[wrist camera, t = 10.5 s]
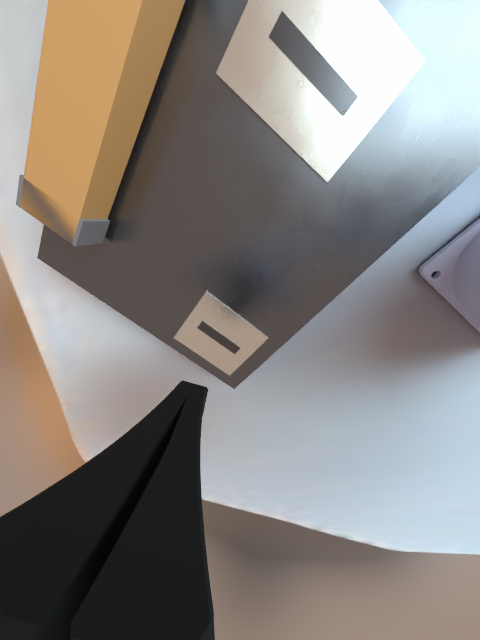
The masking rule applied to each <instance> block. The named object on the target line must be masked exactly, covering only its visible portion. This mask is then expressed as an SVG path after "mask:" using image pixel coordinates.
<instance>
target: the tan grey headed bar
mask: <svg viewBox="0 0 480 640" xmlns="http://www.w3.org/2000/svg"><path fill="white" fill-rule="evenodd" d="M184 3H185V0H48V8H47V15H46V22H45V29H44V36H43V43H42V51H41V58H40V65H39V72H38V79H37V87H36V94H35V101H34V108H33V115H32V123H31V130H30V137H29V144H28V151H27V159H26V166H25V173H24V175H20V178H19V186H18V193H17V201H16V205H18V206H19V207H20V208H22V209H23V210H25V211H26V212H27V213H29V214H30V215H32V216H33V217H34V218H36V219H37V220H39V221H40V222H42V223H43V224H44V225H46V226H47V227H49V228H50V229H51V230H53V231H54V232H56V233H57V234H58V235H60V236H61V237H63V238H64V239H65V240H67V241H68V242H70V243H71V244H73V245H74V246H75V247H77V246H84V245H92V244H99V243H103V240H104V237H105V235H106V232H107V229H108V226H109V224H110V221H109V220H108V216H109V213H110V210H111V208H112V205H113V202H114V199H115V196H116V194H117V191H118V188H119V185H120V182H121V180H122V177H123V174H124V171H125V168H126V166H127V163H128V160H129V157H130V154H131V152H132V149H133V146H134V143H135V140H136V137H137V135H138V132H139V129H140V126H141V123H142V121H143V118H144V115H145V112H146V109H147V107H148V104H149V101H150V98H151V95H152V93H153V90H154V87H155V84H156V81H157V78H158V76H159V73H160V70H161V67H162V64H163V62H164V59H165V56H166V53H167V50H168V48H169V45H170V42H171V39H172V36H173V34H174V31H175V28H176V25H177V22H178V20H179V17H180V14H181V11H182V8H183V5H184Z"/></svg>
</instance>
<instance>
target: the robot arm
mask: <svg viewBox="0 0 480 640" xmlns="http://www.w3.org/2000/svg"><path fill="white" fill-rule="evenodd" d="M435 271H436V274H435V275H434V276H433V277H431V275H432V273H433V272H435ZM419 274H420V275H421V276H422V277H423V278H424V279H425V280H426V281H427V282H428V283H429V284H430V285H431V286H432V287H433V288H434V289H435V290H436V291H437V292H438V293H439V294H440V295H441V296H442V297H443V298H444V299H445V300H446V301H447V302H449V303H450V304H451V305H452V306H453V307H454V308H455V309H456V310H457V311H458V312H459V313H460V314H461V315H462V316H463V317H464V318H465V319H466V320H467V321H468V322H469V323H470V324H471V325H472V326H473V327H474V328H475V329H476V330H477V331H478V332H479V333H480V218H479V219H478V220H477V221H475V222H474V223H473V224H472V225H471V226H469V227H468V228H467V229H466V230H464V231H463V232H462V233H461V234H459V235H458V236H457V237H456V238H454V239H453V240H452V241H451V242H449V243H448V244H447V245H446V246H444V247H443V248H442V249H441V250H439V251H438V252H437V253H436V254H435V255H433V256H432V257H431V258H430V259H428V260H427V261H426V262H425V263H423V264H422V265H421V266H420V268H419ZM207 392H208V389H207V387H204V386H200V385H197V384H193V383H189V382H186V381H181V382H180V383H179V384H178V385H177V386H176V387H175V389H174V390H173V391H172V392H171V393H170V394H169V395H168V396H167V397H166V398H165V399H164V400H163V401H162V402H161V403H160V404H159V405H158V406H157V407H155V408H154V409H153V410H152V411H151V412H150V413H149V414H148V415H147V416H146V417H145V418H143V419H142V420H141V421H140V422H139V423H138V424H136V425H135V426H134V427H133V428H132V429H130V430H129V431H128V432H127V433H126V434H124V435H123V436H122V437H121V438H119V439H118V440H117V441H115V442H114V443H113V444H112V445H110V446H109V447H108V448H106V449H105V450H104V451H102V452H101V453H99V454H98V455H97V456H95V457H94V458H92V459H91V460H90V461H88V462H87V463H85V464H84V465H82V466H81V467H80V468H78V469H77V470H75V471H74V472H72V473H71V474H69V475H68V476H66V477H65V478H63V479H61V480H60V481H58V482H57V483H55V484H54V485H52V486H50V487H49V488H47V489H46V490H44V491H43V492H41V493H39V494H38V495H36V496H35V497H33V498H32V499H30V500H28V501H27V502H25V503H24V504H22V505H20V506H19V507H17V508H15V509H13V510H11V511H10V512H8V513H6V514H5V515H3V516H1V517H0V640H215V636H214V613H213V604H212V597H211V590H210V581H209V573H208V566H207V555H206V546H205V537H204V524H203V512H202V499H201V477H200V438H201V423H202V415H203V412H204V407H205V402H206V397H207Z"/></svg>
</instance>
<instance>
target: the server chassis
mask: <svg viewBox="0 0 480 640" xmlns="http://www.w3.org/2000/svg"><path fill="white" fill-rule="evenodd" d="M479 167H480V0H185V3H184V5H183V8H182V11H181V14H180V17H179V20H178V22H177V25H176V28H175V31H174V34H173V36H172V39H171V42H170V45H169V48H168V50H167V53H166V56H165V59H164V62H163V64H162V67H161V70H160V73H159V76H158V78H157V81H156V84H155V87H154V90H153V93H152V95H151V98H150V101H149V104H148V107H147V109H146V112H145V115H144V118H143V121H142V123H141V126H140V129H139V132H138V135H137V137H136V140H135V143H134V146H133V149H132V152H131V154H130V157H129V160H128V163H127V166H126V168H125V171H124V174H123V177H122V180H121V182H120V185H119V188H118V191H117V194H116V196H115V199H114V202H113V205H112V208H111V210H110V213H109V216H108V220H109V221H110V224H109V226H108V229H107V232H106V235H105V237H104V240H103V243H99V244H92V245H84V246H77V247H75V246H74V245H73V244H71V243H70V242H68V241H67V240H65V239H64V238H63V237H61V236H60V235H58V234H57V233H56V232H54V231H53V230H51V229H50V228H49V227H47V226H46V225H44V227H43V232H42V237H41V243H40V248H39V253H38V259H40V260H41V261H43V262H44V263H46V264H47V265H49V266H50V267H52V268H53V269H55V270H56V271H58V272H59V273H61V274H62V275H64V276H65V277H67V278H68V279H70V280H71V281H73V282H74V283H76V284H77V285H79V286H80V287H82V288H83V289H85V290H86V291H88V292H89V293H91V294H92V295H94V296H95V297H97V298H99V299H100V300H102V301H103V302H105V303H106V304H108V305H109V306H111V307H112V308H114V309H115V310H117V311H118V312H120V313H121V314H123V315H124V316H126V317H127V318H129V319H130V320H132V321H133V322H135V323H136V324H138V325H139V326H141V327H142V328H144V329H145V330H147V331H148V332H150V333H151V334H153V335H154V336H156V337H157V338H159V339H160V340H162V341H163V342H165V343H166V344H168V345H169V346H171V347H172V348H174V349H175V350H177V351H178V352H180V353H181V354H183V355H184V356H186V357H187V358H189V359H190V360H192V361H193V362H195V363H196V364H198V365H199V366H201V367H202V368H204V369H205V370H207V371H208V372H210V373H211V374H213V375H214V376H216V377H217V378H219V379H220V380H222V381H223V382H225V383H226V384H228V385H229V386H231V387H232V388H234V389H235V388H236V387H237V386H238V385H239V384H240V383H241V382H242V381H243V380H245V379H246V378H247V377H248V376H249V375H250V374H251V373H252V372H253V371H255V370H256V369H257V368H258V367H259V366H260V365H261V364H262V363H263V362H264V361H266V360H267V359H268V358H269V357H270V356H271V355H272V354H273V353H274V352H276V351H277V350H278V349H279V348H280V347H281V346H282V345H283V344H284V343H285V342H287V341H288V340H289V339H290V338H291V337H292V336H293V335H294V334H295V333H296V332H298V331H299V330H300V329H301V328H302V327H303V326H304V325H305V324H306V323H308V322H309V321H310V320H311V319H312V318H313V317H314V316H315V315H316V314H317V313H319V312H320V311H321V310H322V309H323V308H324V307H325V306H326V305H327V304H329V303H330V302H331V301H332V300H333V299H334V298H335V297H336V296H337V295H338V294H340V293H341V292H342V291H343V290H344V289H345V288H346V287H347V286H348V285H350V284H351V283H352V282H353V281H354V280H355V279H356V278H357V277H358V276H359V275H361V274H362V273H363V272H364V271H365V270H366V269H367V268H368V267H369V266H370V265H372V264H373V263H374V262H375V261H376V260H377V259H378V258H379V257H380V256H382V255H383V254H384V253H385V252H386V251H387V250H388V249H389V248H390V247H391V246H393V245H394V244H395V243H396V242H397V241H398V240H399V239H400V238H401V237H403V236H404V235H405V234H406V233H407V232H408V231H409V230H410V229H411V228H412V227H414V226H415V225H416V224H417V223H418V222H419V221H420V220H421V219H422V218H423V217H425V216H426V215H427V214H428V213H429V212H430V211H431V210H432V209H433V208H435V207H436V206H437V205H438V204H439V203H440V202H441V201H442V200H443V199H444V198H446V197H447V196H448V195H449V194H450V193H451V192H452V191H453V190H454V189H456V188H457V187H458V186H459V185H460V184H461V183H462V182H463V181H464V180H465V179H467V178H468V177H469V176H470V175H471V174H472V173H473V172H474V171H475V170H476V169H478V168H479Z"/></svg>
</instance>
